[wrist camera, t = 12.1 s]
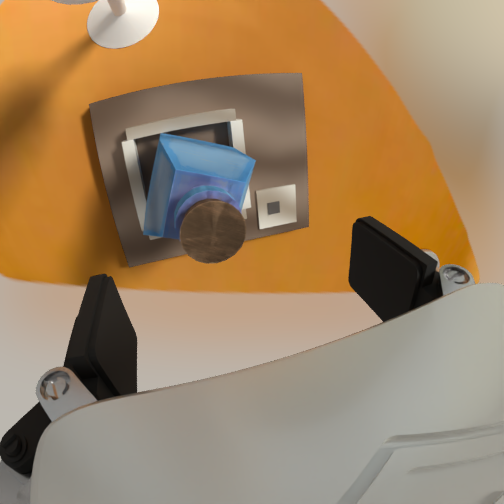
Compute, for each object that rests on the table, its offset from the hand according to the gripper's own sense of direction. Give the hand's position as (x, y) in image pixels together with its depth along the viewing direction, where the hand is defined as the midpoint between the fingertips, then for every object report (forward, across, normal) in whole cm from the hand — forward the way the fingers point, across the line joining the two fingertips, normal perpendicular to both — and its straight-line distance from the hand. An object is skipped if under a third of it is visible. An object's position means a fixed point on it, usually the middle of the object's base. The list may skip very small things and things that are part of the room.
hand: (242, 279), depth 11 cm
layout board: (+19, -1, 0) cm, 19 cm away
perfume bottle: (+16, +1, 0) cm, 16 cm away
